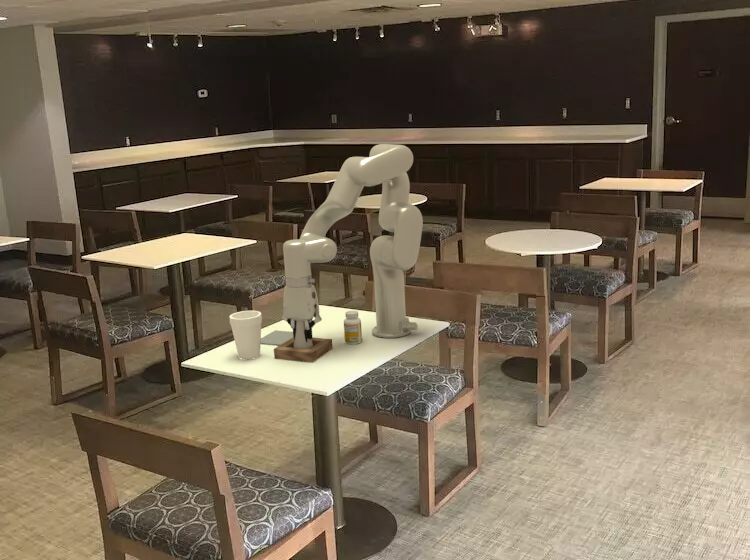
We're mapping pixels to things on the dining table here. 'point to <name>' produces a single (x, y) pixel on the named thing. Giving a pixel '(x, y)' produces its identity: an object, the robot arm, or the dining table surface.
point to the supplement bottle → (352, 328)
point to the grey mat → (276, 338)
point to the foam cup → (247, 333)
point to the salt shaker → (301, 336)
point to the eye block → (303, 350)
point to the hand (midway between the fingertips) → (303, 340)
